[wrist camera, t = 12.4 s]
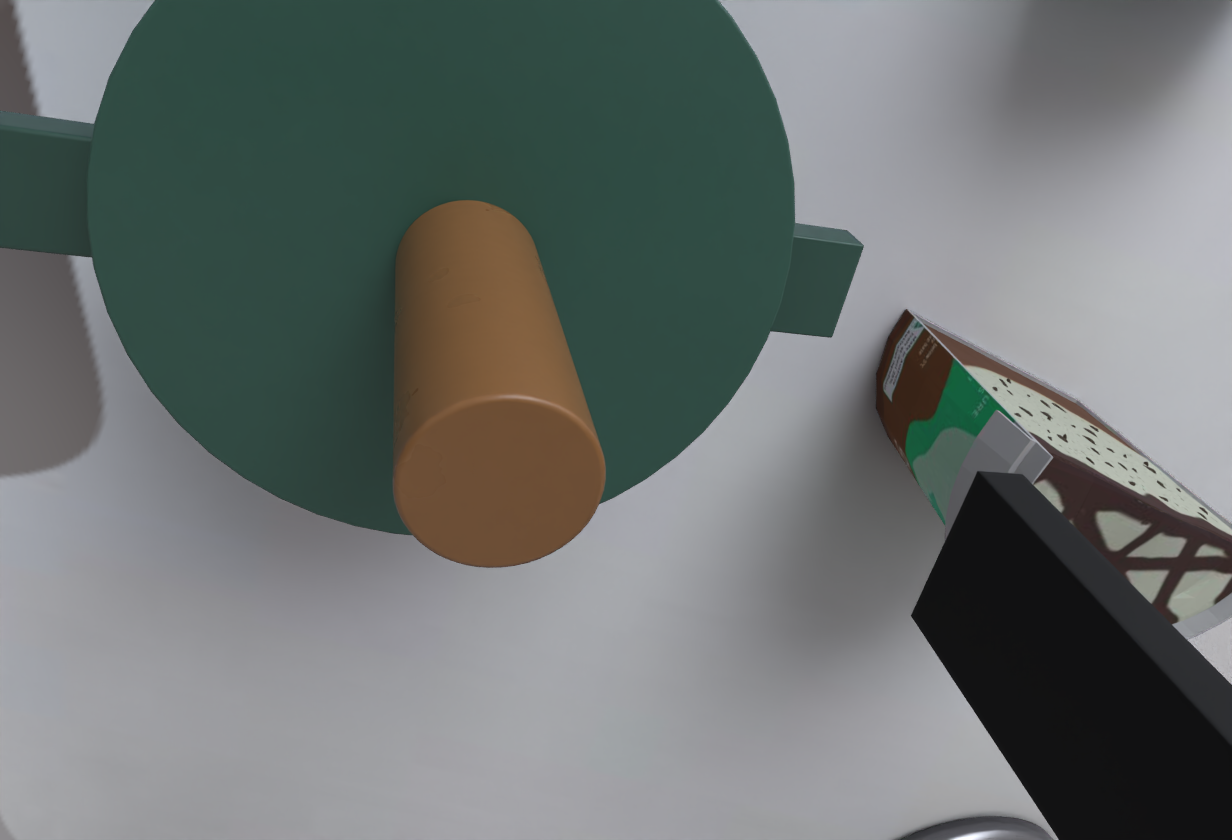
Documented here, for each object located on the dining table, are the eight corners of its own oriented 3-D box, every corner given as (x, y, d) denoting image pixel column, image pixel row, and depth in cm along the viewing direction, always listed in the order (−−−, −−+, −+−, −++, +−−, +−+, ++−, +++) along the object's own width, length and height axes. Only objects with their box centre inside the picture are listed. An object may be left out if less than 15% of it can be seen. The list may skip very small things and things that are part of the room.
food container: (777, 429, 35) (894, 617, 26) (874, 292, 32) (1038, 449, 24) (1002, 525, 40) (1161, 708, 31) (1101, 411, 37) (1301, 576, 29)
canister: (688, 355, 32) (781, 524, 24) (116, 300, 28) (1, 487, 20) (796, -41, 26) (965, 13, 18) (82, -201, 21) (-104, -222, 14)
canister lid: (692, 519, 25) (813, 805, 17) (124, 492, 21) (-23, 839, 14) (862, -44, 18) (1172, 38, 11) (72, -227, 14) (-261, -288, 7)
